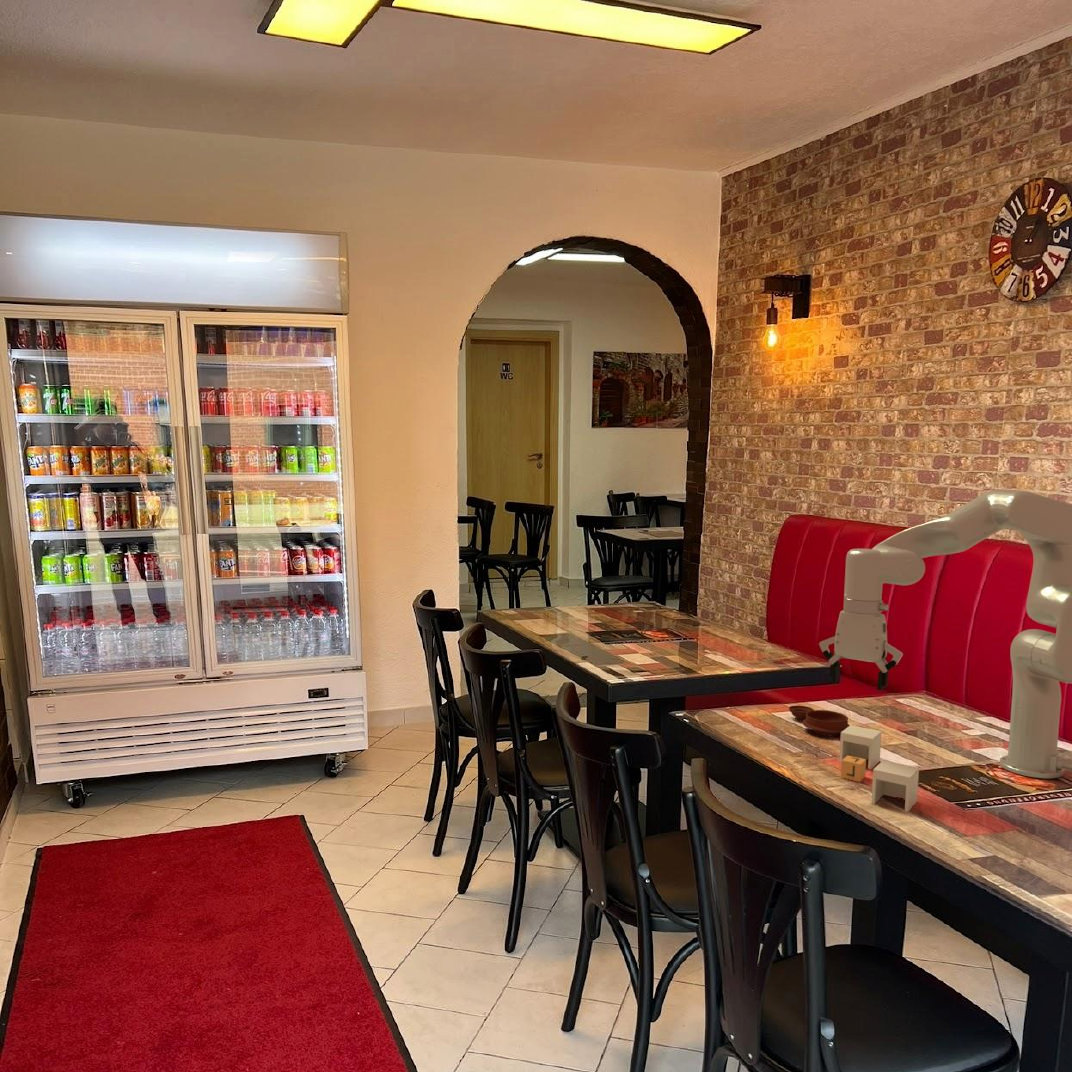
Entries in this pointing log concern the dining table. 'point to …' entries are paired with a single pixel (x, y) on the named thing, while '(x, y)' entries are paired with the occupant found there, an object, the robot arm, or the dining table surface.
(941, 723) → the dining table surface
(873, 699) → the dining table surface
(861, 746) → the cover cube
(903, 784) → the cover empty
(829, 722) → the pottery
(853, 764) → the letter cube
